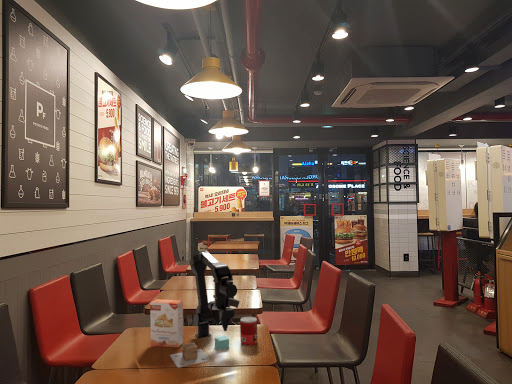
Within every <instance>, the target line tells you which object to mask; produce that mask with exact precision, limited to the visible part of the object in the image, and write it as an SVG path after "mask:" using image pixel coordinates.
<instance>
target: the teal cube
mask: <svg viewBox="0 0 512 384" xmlns="http://www.w3.org/2000/svg"><path fill="white" fill-rule="evenodd" d="M214 347H215V348H216V349H217V350H218V351H221V350H225V349H230V338H228V337H227V336H226V335H219V336H216V337H214Z"/></svg>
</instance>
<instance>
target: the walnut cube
mask: <svg viewBox="0 0 512 384" xmlns="http://www.w3.org/2000/svg"><path fill="white" fill-rule="evenodd" d="M181 346H182V348H181V349H182V351H181V352H182V357H183V358H184V359H185V361H188V360H193V359H197V349H198V345H197V344H196V343H195V342H189V343H185V344H184V343H183V344H182V345H181Z"/></svg>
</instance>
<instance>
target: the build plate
mask: <svg viewBox="0 0 512 384" xmlns="http://www.w3.org/2000/svg"><path fill="white" fill-rule="evenodd" d="M169 357H170V359H171V360H172V361H173V363H174V364H175V366H176V367H177V368H179V369H180V368H183V367H187V366H192V365H196V364H197V365H198V364H200V363H205V362H206V363H207V362H211V361H212V359H211V358H210V357H209V356H208V355H207V354H206V353H205V352H204V350H203V349H202V348H197V359H193V360H188V361H185V359H184V358H183V357H182V351H181V352H177V353H172V354H169Z"/></svg>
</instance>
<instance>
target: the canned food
mask: <svg viewBox="0 0 512 384" xmlns="http://www.w3.org/2000/svg"><path fill="white" fill-rule="evenodd" d="M239 322H240V323H239V327H240V328H239V329H240V331H239V332H240V336H239V337H240V344H241V345H243V346H254V345H256V344H257V343H258V319H257V317H254V316H244V317H243V316H242V317H241V318H240V320H239Z"/></svg>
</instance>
